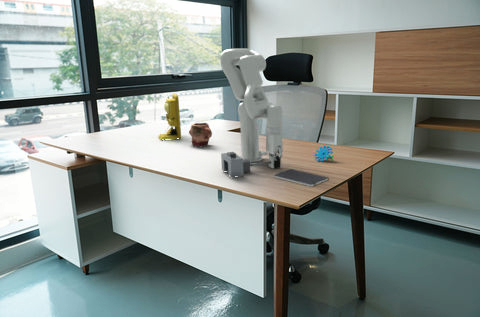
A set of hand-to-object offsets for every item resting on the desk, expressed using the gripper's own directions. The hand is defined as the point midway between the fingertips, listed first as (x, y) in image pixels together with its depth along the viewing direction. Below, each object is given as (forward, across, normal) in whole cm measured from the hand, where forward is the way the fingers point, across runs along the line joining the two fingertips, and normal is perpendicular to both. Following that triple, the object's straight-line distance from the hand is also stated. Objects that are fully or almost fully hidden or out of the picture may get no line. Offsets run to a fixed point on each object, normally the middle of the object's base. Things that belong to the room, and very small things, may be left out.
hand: (274, 166), depth 194 cm
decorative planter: (+1, -66, -19) cm, 69 cm away
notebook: (+1, +21, +2) cm, 21 cm away
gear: (+1, 0, +28) cm, 28 cm away
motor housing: (+1, 0, -22) cm, 22 cm away
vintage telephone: (+1, -103, -33) cm, 108 cm away
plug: (0, 0, -9) cm, 9 cm away
